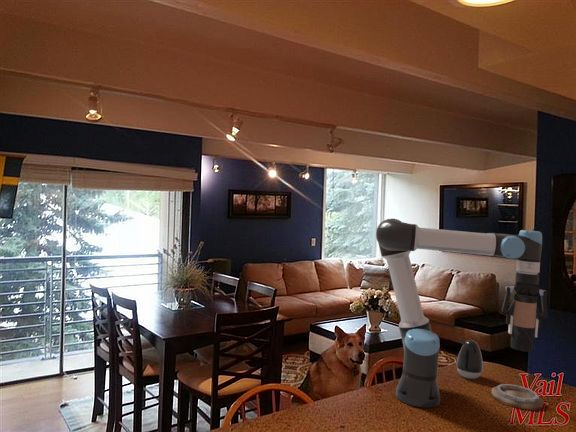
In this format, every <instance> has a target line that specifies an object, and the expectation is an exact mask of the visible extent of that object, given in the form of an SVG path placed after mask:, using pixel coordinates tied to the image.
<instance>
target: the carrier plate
mask: <svg viewBox="0 0 576 432" xmlns="http://www.w3.org/2000/svg"><path fill="white" fill-rule="evenodd" d="M490 394H492V395H491V397H492V396H493V397H494V398H495V399H494V398H493V397H492V398H493V399H494V400H495V401H497V400H498V401H497V402H499V401H500V402H499V403H501V402H502V403H501V404H503V403H504V405H505V404H506V406H508V405H509V407H511V406H513V407H512V408H515V409H519V410H526V411H538V410H541V409H543V407H544V400H543V398H541V397H540V395H538V393H537V392H535V391H534V390H532V389H530V388H527V387H524V386H521V385H517V384H510V383H504V384H503V383H501V384H498V385H496V386H494V387H492V388H491V393H490Z"/></svg>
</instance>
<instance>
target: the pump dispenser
mask: <svg viewBox="0 0 576 432" xmlns="http://www.w3.org/2000/svg"><path fill="white" fill-rule="evenodd" d="M458 341H459V342H460V343H461V344H462V346H461V348H460V351H459V352H458V354H457V360H456V363H455V364H456V368H457V372H458V374H459V375H460V376H462V378H465V379H468V380H475V379H478V378H479V377H480V376H481V375H482V373H483V371H484V363H483V356H482V352H481V349H480V346H479V344H478V343H477V341H475V340H473V339H468V340H463V339H462V338H459V340H458Z"/></svg>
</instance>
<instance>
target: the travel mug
mask: <svg viewBox="0 0 576 432" xmlns="http://www.w3.org/2000/svg"><path fill="white" fill-rule="evenodd" d="M513 300H514V301H515V309H514V311H513V312H512V314H511V315H512V316H513V326H512V334H510V348H511V349H513V350H516V351H520V352H526V353H527V352H528V353H529V352H533V348H534V347H533V346H534V339H535V337H534V332H535V321H536V318H537V316H536V307H537V305H538V295H537V294H536V295H535V297H532V296H523V295H518V294H517V293H516V292H514V295H513Z"/></svg>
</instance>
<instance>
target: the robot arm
mask: <svg viewBox="0 0 576 432" xmlns="http://www.w3.org/2000/svg"><path fill="white" fill-rule="evenodd" d="M375 237H376V241H377V244H378V247H379V251H380V255H381V258H383V259H384V260H386V262H387V263H386V264H387V268H388V271H389V272H388V273H389V275H390V278H391V280H390V281H391V283H392V288H393V292H394V295H395V300H396V303H397V309H398V313H399V316H400V322H399V324H398V329H399V332H400V337H401V342H402V347H403V362H402V364H403V366H402V373H401V377H400V379H399V381H398V384H397V386H396V389H395V396H396V398H397V399H398V400H399V401H401V402H403V403H404V404H407V405H410V406H413V407H417V408H427V409H429V408H435V407H438V406H439V405H441V404H440V403H441V393H440V390H439V389H440V388H439V385H438V380H437V377H438V367H439V366H438V364H439V353H440V352H439V351H440V347H441V344H440V338H439V336H438V334H436V333H435V332H433V330H432V327H431V323H430V318H429V319H428V318H427V317H426V316H425V315H424V311H423V307H422V304H421V303H422V302H421V300H420V295H419V291H418V286H417V284H416V282H417V281H416V280H415V279H416V278H415V275H414V274H415V273H414V270H413V268H412V266H413V265H412V263H411V258H410V254H411V252H415V251H416V250H418V249H419V250H428V251H439V252H449V253H459V254H471V255H481V256H491V257H492V256H493V257H500V258H507V259H513V260H514V259H516V273H515V281H514V282H515V283H514V285H513V286H509V285H508V286H507V285H505V287H504V288H505V295H504V300H503V302H502V303H503V304H502V305H501V312H502V313H503V314H504V315H506V318H505V323H506V325H508V330H507V333H508V334H509V335H511V334H512V326H513V316H512V314H513V311H514V309H515V301H514V299H513V300H512V302H511V304H510V305H509V302H510V297H511V294H512V293H513V290H514V291H515V294H518V295H523V296H532V297H535V295H536V296H537V294H538V293H539V296H540V302H541V303H540V304H541V310H540V308H539V305H538V304H537V307H536V321H535V332H534V338H538V332H539V329H541V328H542V323H543V322H542V321H543V320H545V319H548V318H549V315H548V313H549V312H548V305H547V304H548V303H547V301H548V300H547V297H548V293H549V292H548V291H547V290H546V289H540V287H539V284H540V283H539V282H540V275H539V274H540V269H541V268H540V267H541V257H542V249H543V248H542V246H543V234H542V232H541V231H539V230H538V231H537V230H525V229H521V230H520V231H519V233H518V234H509V233H508V234H507V233H496V232H487V233H485V232H471V231H461V230H452V229H451V230H450V229H437V228H430V227H429V228H427V227H419V226H418V225H417V224H415V223H408V222H407V223H406V222H403V221H401V220H399V219H397V218H386V219H385V220H383V221H381V222H380V223H379V224H378V226H377V228H376V231H375ZM508 306H509V307H508Z"/></svg>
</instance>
